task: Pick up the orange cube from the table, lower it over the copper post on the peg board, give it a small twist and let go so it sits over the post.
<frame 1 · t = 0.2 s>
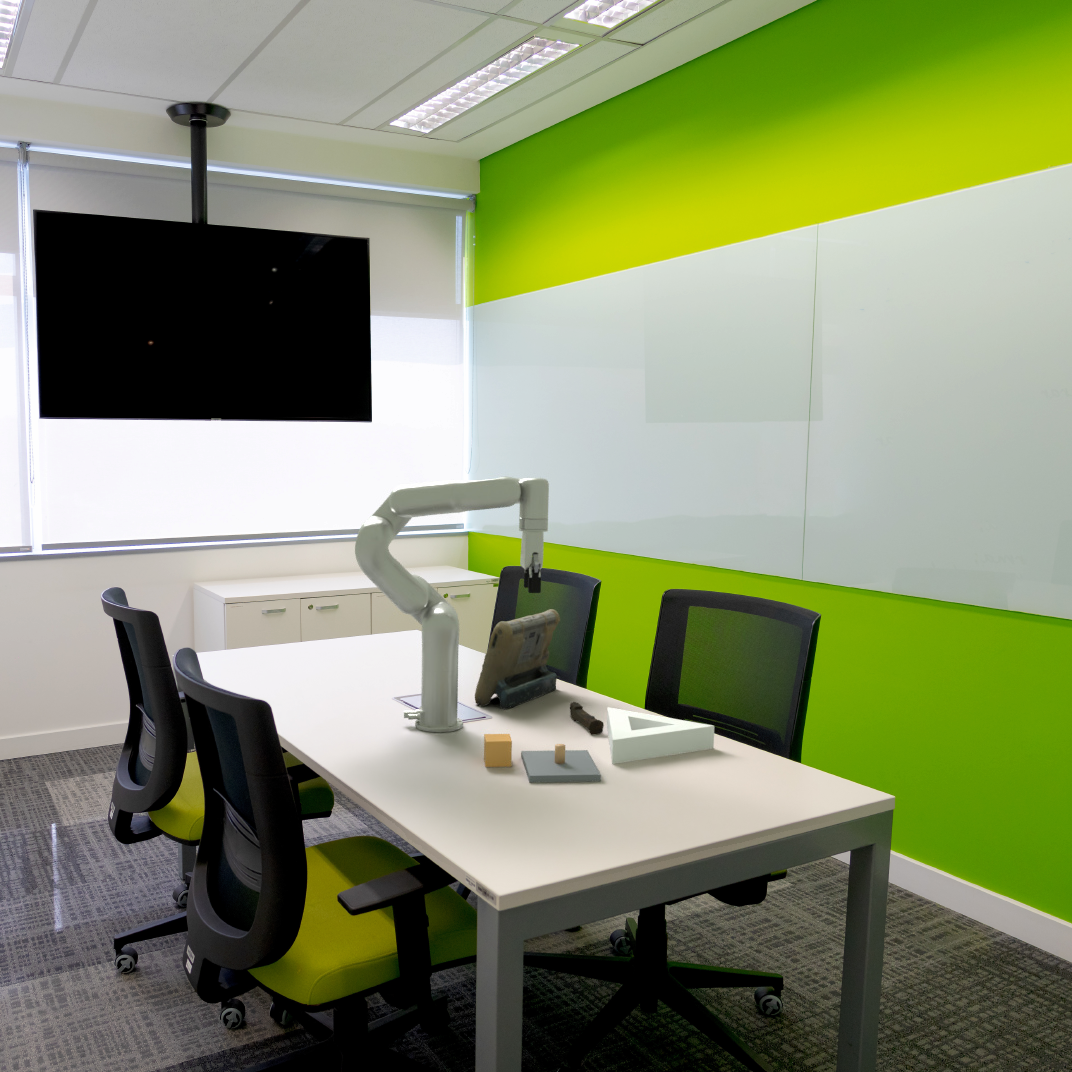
hand: (532, 590, 258), 36 cm above the table, tool pointing down, fingers open, 9 cm apart
triangle block: (661, 749, 246), on the table
tablet: (518, 697, 293), on the table
brown piece: (581, 726, 264), on the table
orange cube: (497, 762, 230), on the table
peg board: (559, 768, 227), on the table
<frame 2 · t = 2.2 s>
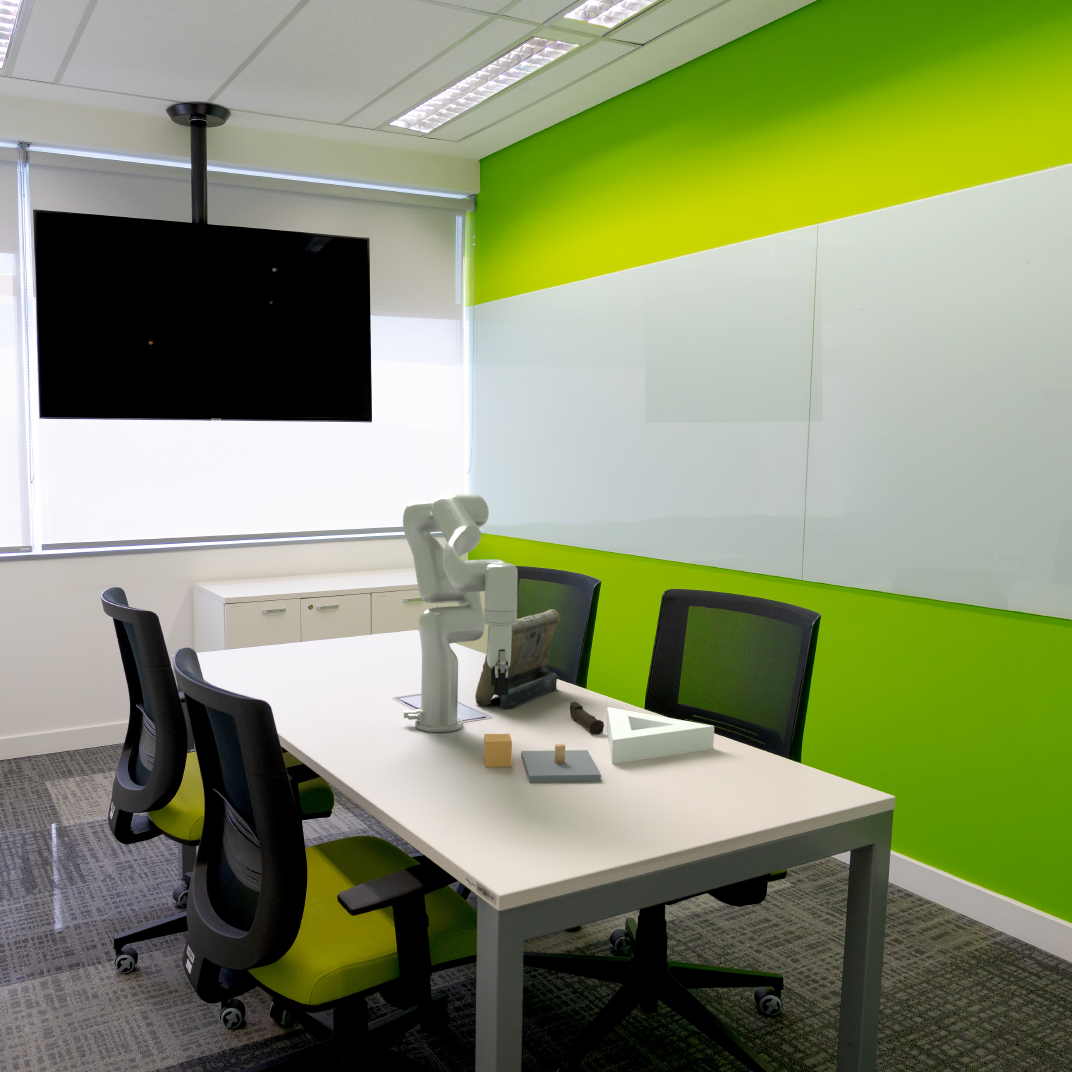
hand: (499, 689, 228), 17 cm above the table, tool pointing down, fingers open, 9 cm apart
nothing on the table moved.
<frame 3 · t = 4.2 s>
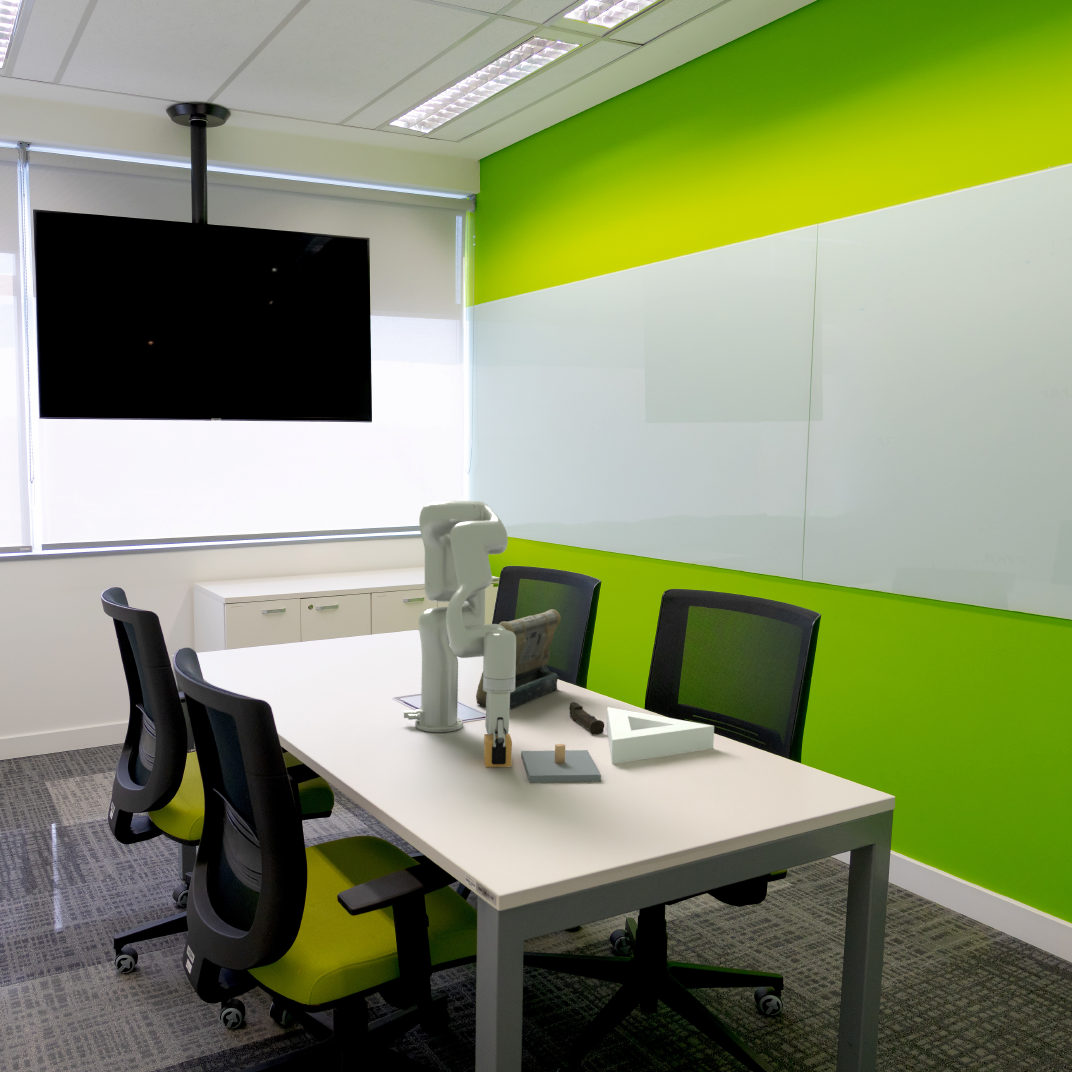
hand: (497, 758, 230), 1 cm above the table, tool pointing down, fingers closed on orange cube, 5 cm apart
orange cube: (497, 762, 230), on the table, touching gripper
everything else where it was.
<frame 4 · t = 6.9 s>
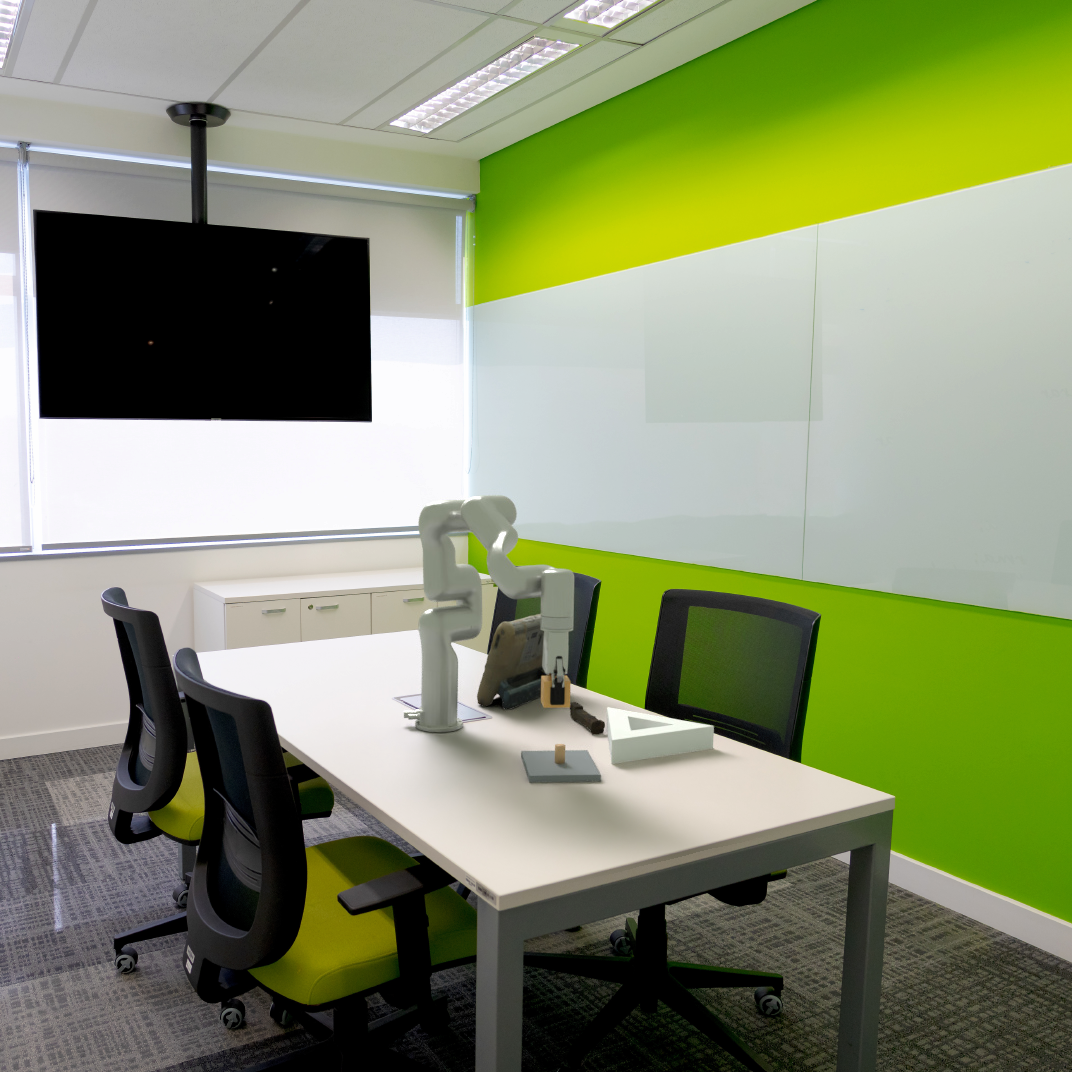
hand: (555, 700, 225), 16 cm above the table, tool pointing down, fingers closed on orange cube, 5 cm apart
orange cube: (555, 704, 226), point 15 cm above the table, touching gripper
everything else where it was.
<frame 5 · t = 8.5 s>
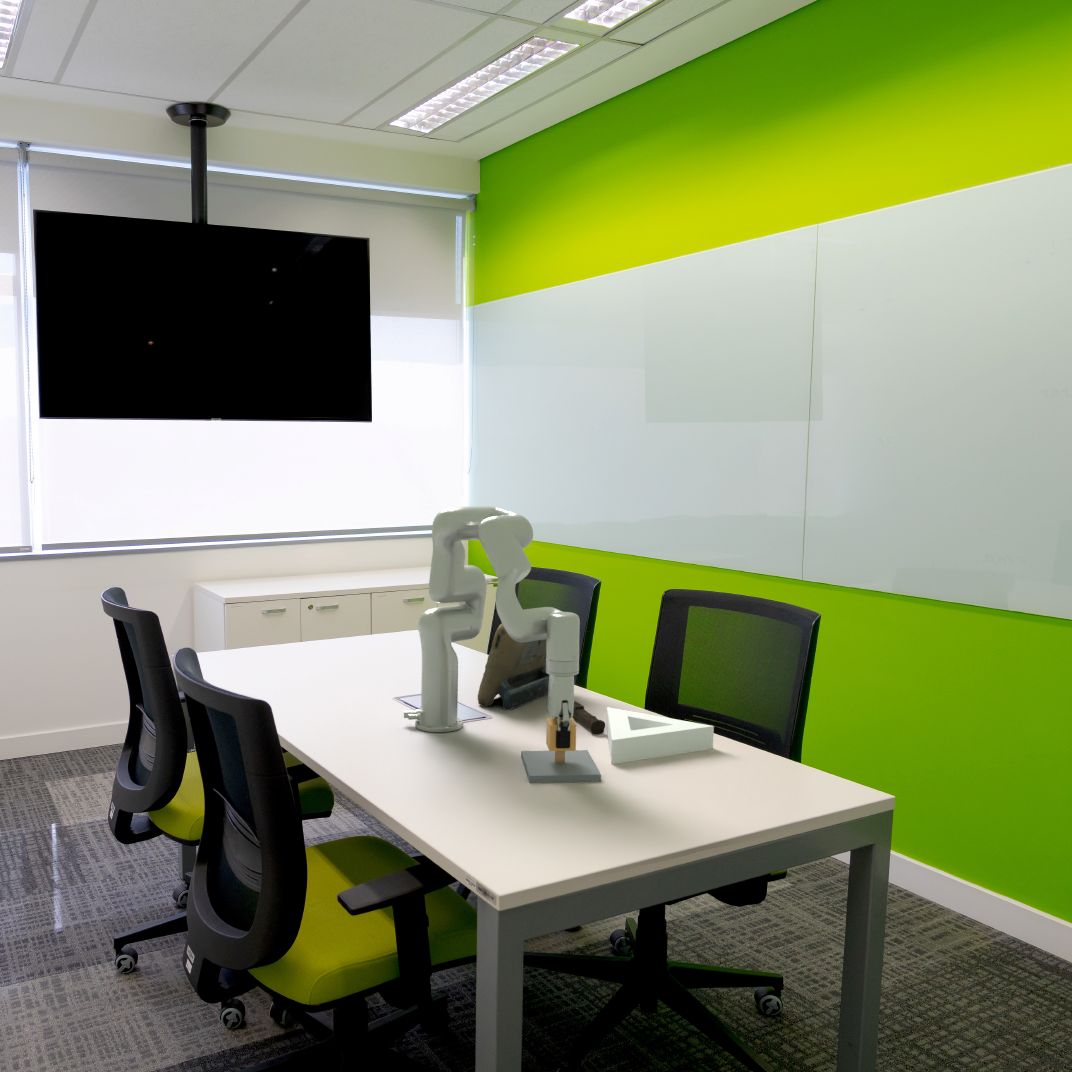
hand: (560, 742, 226), 6 cm above the table, tool pointing down, fingers closed on orange cube, 5 cm apart
orange cube: (560, 747, 226), point 5 cm above the table, touching gripper
everything else where it was.
when the fingers open (3 cm above the table, at t = 9.8 s): orange cube stays where it is, resting on peg board.
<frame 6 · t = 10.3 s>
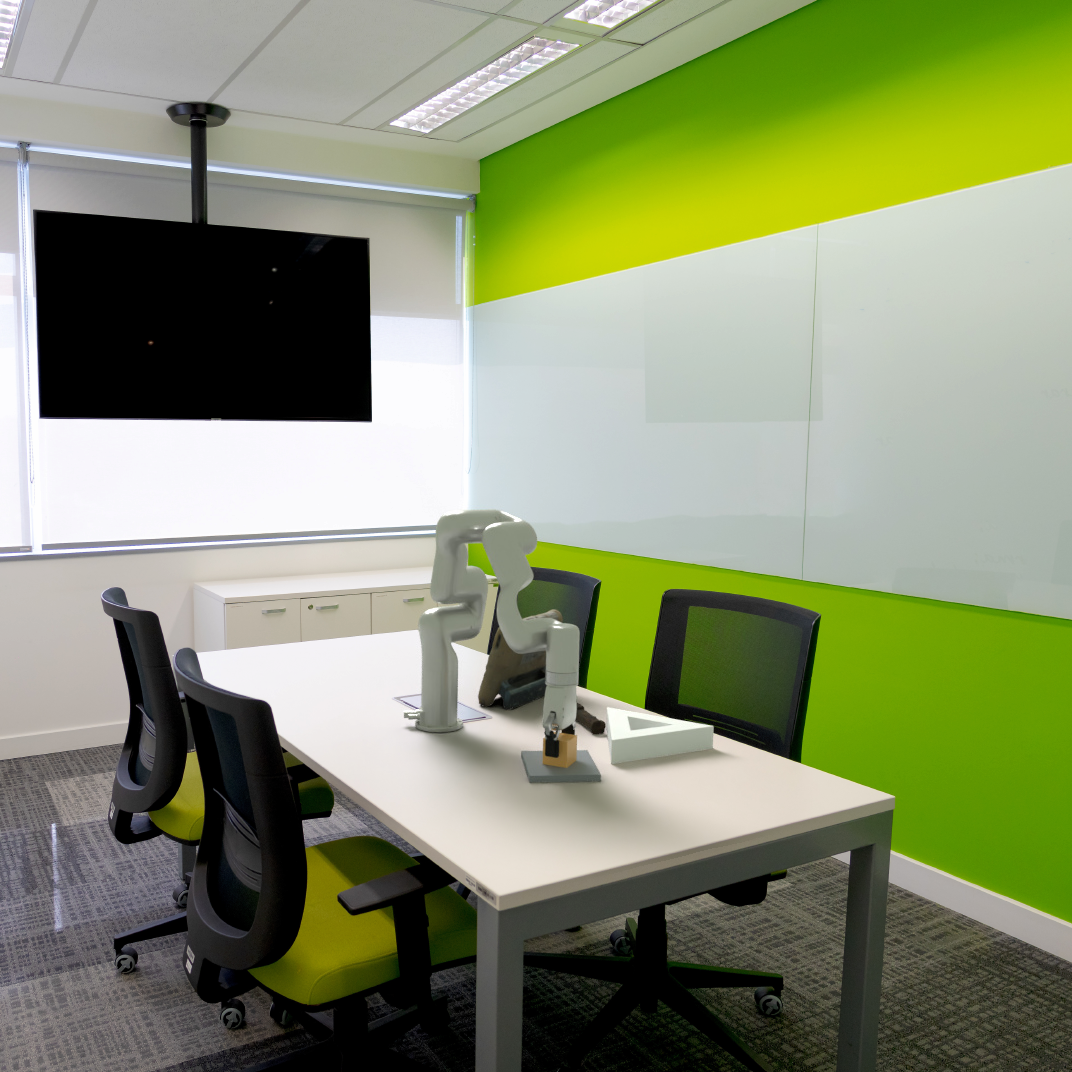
hand: (560, 750, 226), 4 cm above the table, tool pointing down, fingers open, 9 cm apart
orange cube: (559, 762, 227), point 1 cm above the table, touching peg board
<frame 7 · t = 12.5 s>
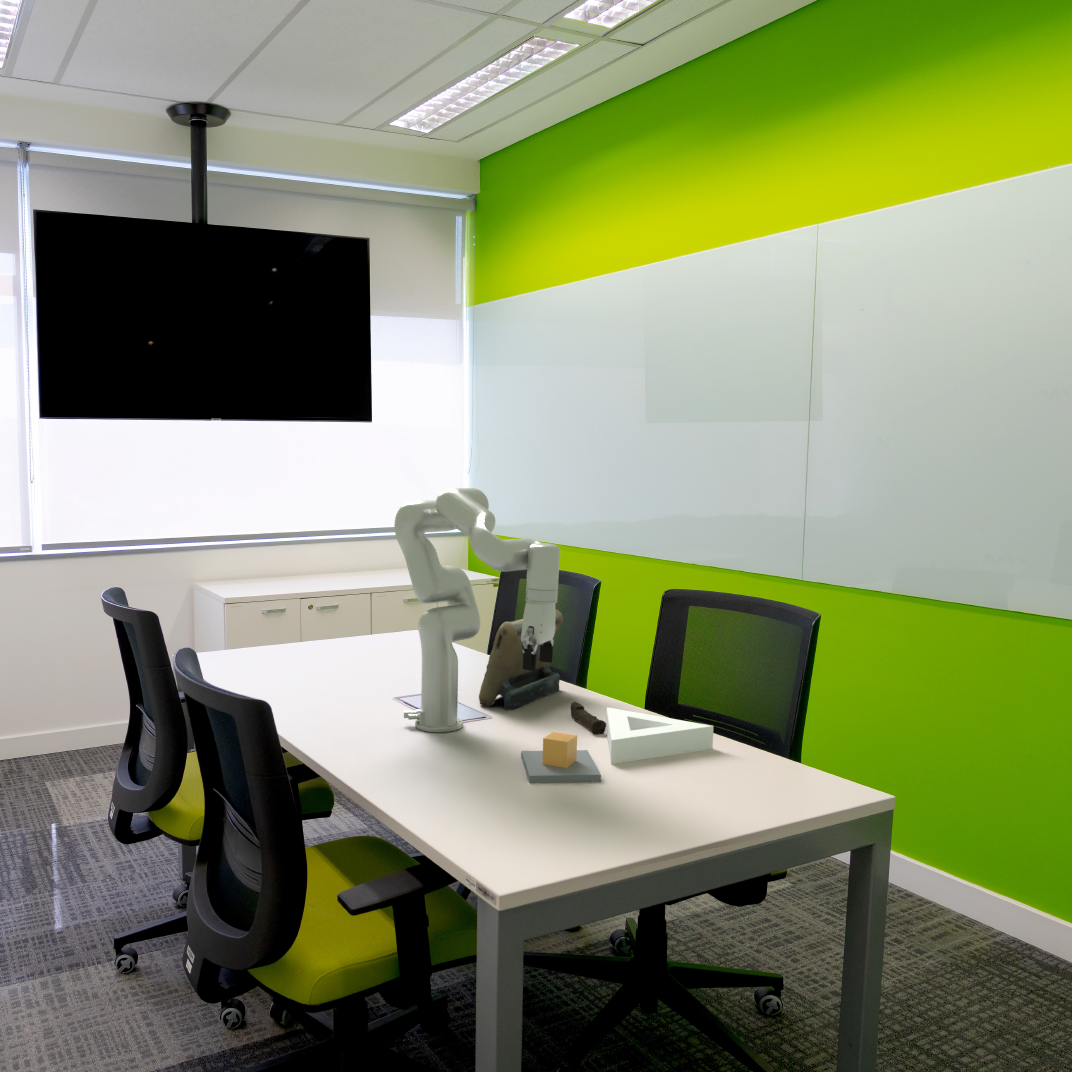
hand: (537, 665, 235), 22 cm above the table, tool pointing down, fingers open, 9 cm apart
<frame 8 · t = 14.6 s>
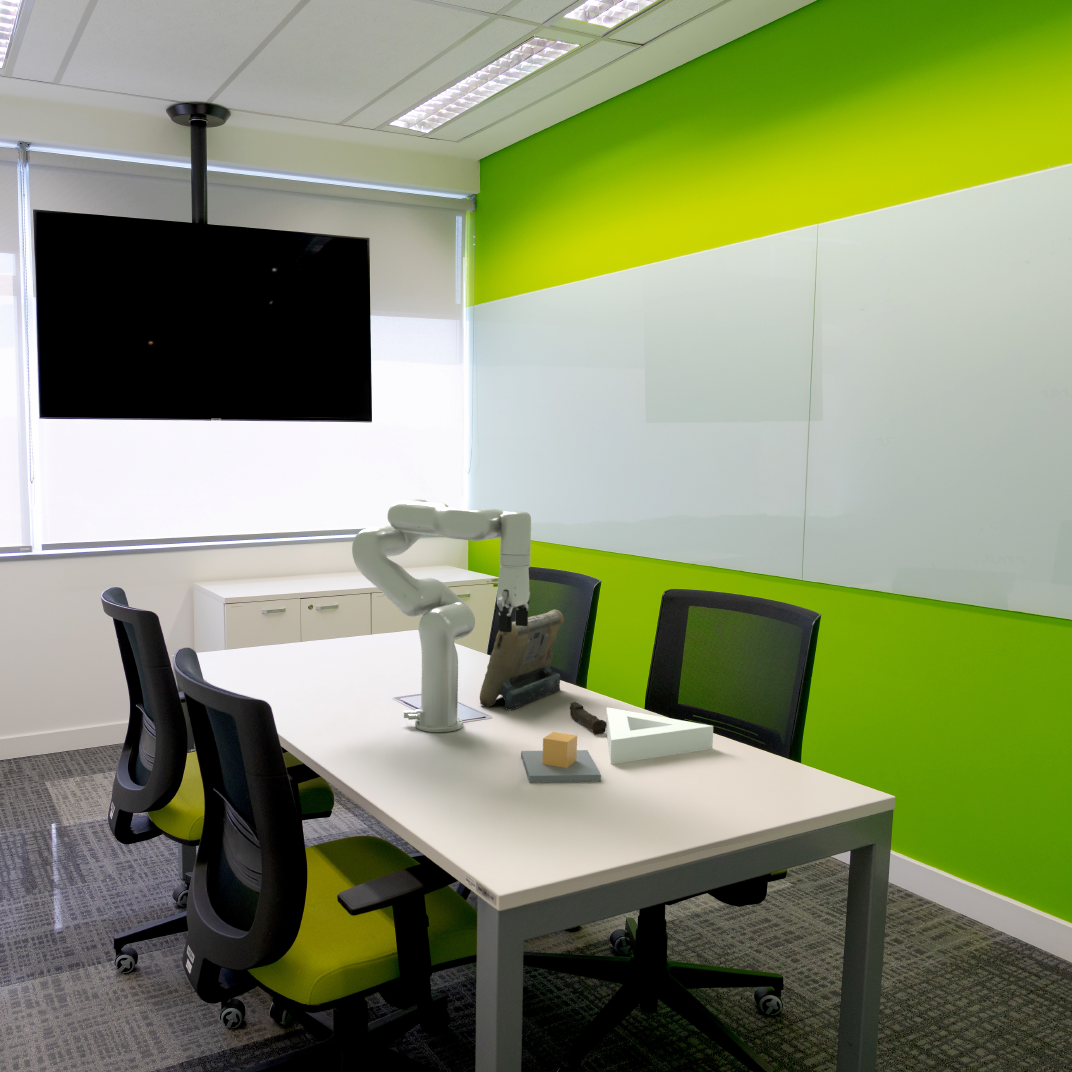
hand: (513, 628, 247), 28 cm above the table, tool pointing down, fingers open, 9 cm apart
at the end: orange cube 0.1 cm from the peg board (horizontally); orange cube point 1.5 cm above the table; the gripper is holding nothing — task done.
